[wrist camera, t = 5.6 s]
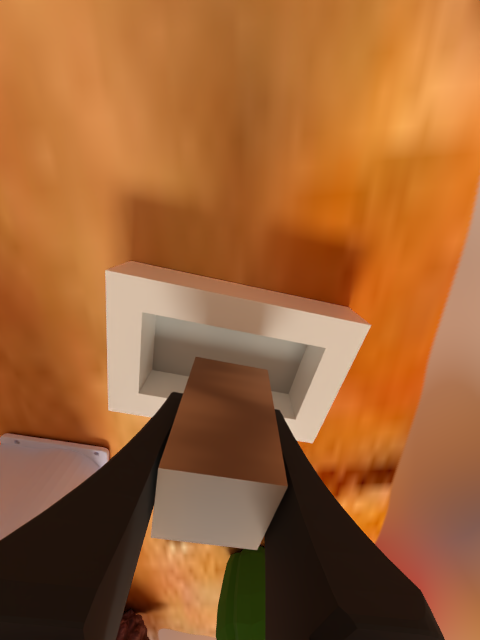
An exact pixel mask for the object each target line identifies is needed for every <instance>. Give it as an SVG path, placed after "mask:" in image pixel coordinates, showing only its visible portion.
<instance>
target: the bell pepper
mask: <svg viewBox="0 0 480 640" xmlns="http://www.w3.org/2000/svg"><path fill="white" fill-rule="evenodd" d="M216 639H217V640H265V548H264V547H261V546H259V547H258V549H257V550H251V549H243V550H242V552H239V553H234V554H231V556H230V558H229V560H228V562H227V566H226V570H225V574H224V579H223V584H222V589H221V594H220V599H219V604H218V612H217V626H216Z"/></svg>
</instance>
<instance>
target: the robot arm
mask: <svg viewBox="0 0 480 640" xmlns="http://www.w3.org/2000/svg"><path fill="white" fill-rule="evenodd" d="M182 396H183V393H178V392H172V393H171V394H170V395H169V397H168V398H167V400H166V401H165V402H164V404H163V405H162V406H161V407H160V409H159V410H158V411H157V412H156V414H155V415H154V416H153V417H152V418H151V419H150V420H149V422H148V423H147V424H146V425H145V426H144V427H143V428H142V429H141V430H140V431H139V432H138V433H137V434H136V435H135V436H134V437H133V438H132V439H131V440H130V442H129V443H127V444H126V445H125V446H124V447H123V448H122V449H121V450H120V451H119V452H118V453H117V454H116V455H115V456H114V457H112V458H111V459H110V460H109V450H108V449H107V448H104V447H98V446H91V445H84V444H78V443H71V442H64V441H57V440H50V439H44V438H37V437H30V436H23V435H16V434H10V433H5V434H3V435H2V436H1V437H0V442H1V445H0V640H116V637H117V634H118V630H119V626H120V623H121V619H122V615H123V612H124V608H125V605H126V601H127V597H128V594H129V590H130V587H131V583H132V579H133V576H134V572H135V569H136V565H137V562H138V558H139V555H140V551H141V547H142V544H143V540H144V537H145V533H146V530H147V527H148V523H149V520H150V516H151V513H152V509H153V506H154V503H155V494H156V485H157V475H158V467H159V464H160V461H161V458H162V455H163V452H164V449H165V446H166V444H167V441H168V438H169V435H170V432H171V429H172V426H173V423H174V420H175V417H176V414H177V411H178V408H179V405H180V402H181V399H182ZM275 415H276V421H277V426H278V432H279V438H280V444H281V449H282V455H283V461H284V467H285V472H286V478H287V484H288V487H287V489H286V492H285V494H284V496H283V498H282V500H281V502H280V504H279V506H278V508H277V510H276V512H275V514H274V516H273V518H272V520H271V522H270V524H269V527H268V529H267V531H266V533H265V535H264V538H265V640H445V639H444V637H443V635H442V632H441V631H440V628H439V626H438V624H437V622H436V620H435V618H434V616H433V614H432V612H431V609H430V607H429V606H428V604H427V602H426V600H425V598H424V596H423V594H422V592H421V590H420V589H419V588H418V587H417V586H416V585H414V583H413V582H411V580H410V579H408V578H407V577H406V576H405V575H404V574H403V573H402V572H401V571H400V570H399V569H398V568H397V567H396V566H395V565H394V564H393V563H392V562H391V561H390V560H389V559H388V558H387V557H386V556H385V555H384V554H383V553H382V552H381V550H380V549H379V548H378V547H377V546H376V545H375V544H374V543H373V542H372V541H371V540H370V539H369V538H368V537H367V535H366V534H365V533H364V532H363V531H362V530H361V529H360V528H359V526H358V525H357V524H356V523H355V522H354V521H353V519H352V518H351V517H350V516H349V515H348V514H347V512H346V511H345V510H344V509H343V508H342V506H341V505H340V504H339V503H338V501H337V500H336V499H335V498H334V496H333V495H332V494H331V492H330V491H329V490H328V488H327V487H326V486H325V484H324V483H323V481H322V480H321V479H320V477H319V476H318V474H317V473H316V471H315V470H314V468H313V467H312V465H311V464H310V462H309V461H308V459H307V457H306V456H305V454H304V453H303V451H302V449H301V448H300V446H299V444H298V442H297V441H296V439H295V437H294V436H293V434H292V432H291V430H290V428H289V426H288V425H287V423H286V421H285V419H284V417H283V415H282V413H281V411H280V410H278V409H275Z"/></svg>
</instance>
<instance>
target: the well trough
mask: <svg viewBox="0 0 480 640" xmlns="http://www.w3.org/2000/svg"><path fill="white" fill-rule="evenodd" d="M105 278H106V324H107V370H108V411H114V412H121V413H127V414H133V415H140V416H146V417H153V416H154V415H155V414H156V412H157V411H158V410H159V409H160V407H161V406H162V405H163V404H164V402H165V401H166V400H167V398H168V397H169V395H170V394H171V393H172V392H178V393H184V390H185V387H186V384H187V381H188V378H189V375H190V372H191V369H192V366H193V363H194V360H195V357H201V358H206V359H212V360H217V361H222V362H228V363H233V364H239V365H244V366H250V367H255V368H261V369H266V370H268V375H269V380H270V386H271V392H272V398H273V403H274V409H278V410H280V411H281V413H282V415H283V417H284V419H285V421H286V423H287V425H288V426H289V428H290V430H291V432H292V434H293V436H294V437H295V439H296V441H302V442H309V443H313V442H314V440H315V438H316V436H317V434H318V432H319V430H320V428H321V426H322V424H323V422H324V420H325V418H326V415H327V413H328V411H329V409H330V407H331V405H332V403H333V401H334V399H335V397H336V395H337V393H338V391H339V389H340V387H341V385H342V383H343V381H344V379H345V377H346V375H347V373H348V371H349V369H350V367H351V365H352V363H353V361H354V359H355V357H356V355H357V353H358V351H359V349H360V347H361V345H362V343H363V341H364V339H365V337H366V335H367V333H368V331H369V329H370V327H371V325H370V324H369V323H368V322H366V321H365V320H364V319H363V318H361V317H360V316H359V315H358V314H357V313H355V312H354V311H353V310H352V309H350V308H349V307H346V306H341V305H336V304H331V303H327V302H322V301H317V300H313V299H308V298H303V297H299V296H294V295H289V294H285V293H280V292H275V291H270V290H266V289H261V288H256V287H252V286H247V285H242V284H238V283H233V282H228V281H224V280H219V279H214V278H210V277H205V276H200V275H195V274H191V273H186V272H181V271H177V270H172V269H167V268H163V267H158V266H153V265H149V264H144V263H139V262H134V261H129V262H126V263H123V264H120V265H118V266H115V267H112V268H109V269H107V270H105Z"/></svg>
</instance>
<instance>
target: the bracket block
mask: <svg viewBox="0 0 480 640" xmlns="http://www.w3.org/2000/svg"><path fill="white" fill-rule="evenodd" d="M287 487H288V484H287V478H286V472H285V467H284V461H283V455H282V449H281V444H280V438H279V432H278V426H277V421H276V415H275V409H274V403H273V398H272V392H271V386H270V380H269V375H268V370H266V369H261V368H255V367H250V366H244V365H239V364H233V363H228V362H222V361H217V360H212V359H206V358H201V357H195V360H194V363H193V366H192V369H191V372H190V375H189V378H188V381H187V384H186V387H185V390H184V393H183V396H182V399H181V402H180V405H179V408H178V411H177V414H176V417H175V420H174V423H173V426H172V429H171V432H170V435H169V438H168V441H167V444H166V446H165V449H164V452H163V455H162V458H161V461H160V464H159V467H158V475H157V485H156V494H155V503H154V513H153V522H152V531H151V538H158V539H167V540H175V541H184V542H192V543H201V544H209V545H218V546H226V547H234V548H243V549H251V550H257V549H258V547H259V545H260V543H261V541H262V539H263V537H264V535H265V533H266V531H267V529H268V527H269V524H270V522H271V520H272V518H273V516H274V514H275V512H276V510H277V508H278V506H279V504H280V502H281V500H282V498H283V496H284V494H285V492H286V489H287Z"/></svg>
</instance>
